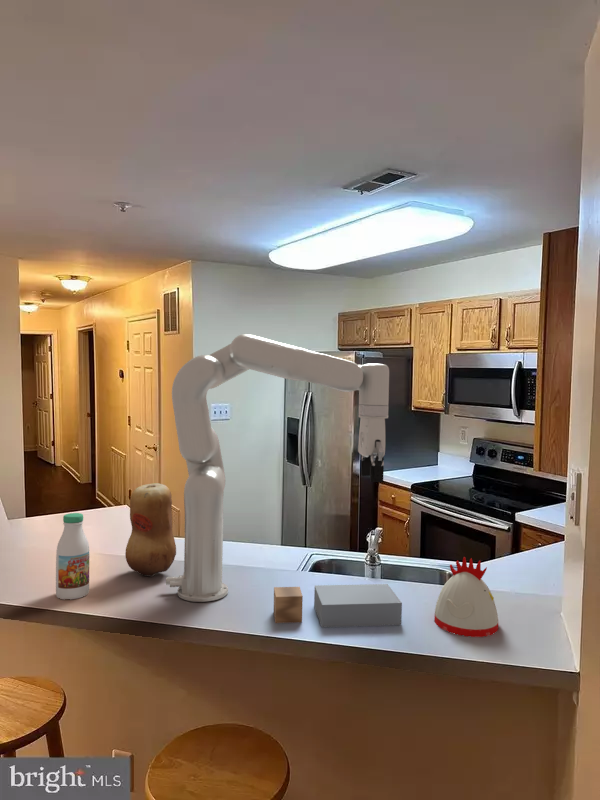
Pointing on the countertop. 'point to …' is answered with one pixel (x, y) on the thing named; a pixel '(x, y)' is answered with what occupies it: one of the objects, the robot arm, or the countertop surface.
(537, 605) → the countertop surface
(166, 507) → the butternut squash
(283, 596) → the walnut cube
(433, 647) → the countertop surface
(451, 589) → the kitchen timer
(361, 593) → the block
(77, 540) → the milk bottle
